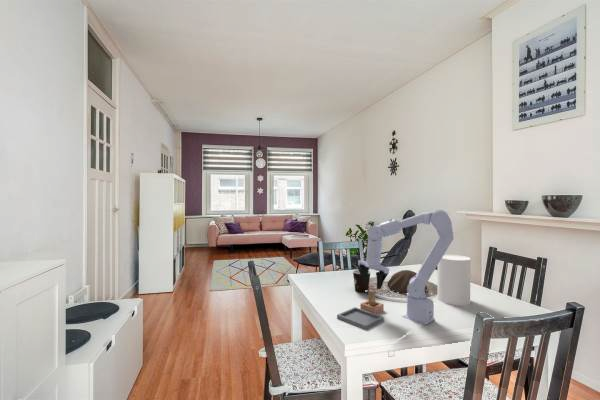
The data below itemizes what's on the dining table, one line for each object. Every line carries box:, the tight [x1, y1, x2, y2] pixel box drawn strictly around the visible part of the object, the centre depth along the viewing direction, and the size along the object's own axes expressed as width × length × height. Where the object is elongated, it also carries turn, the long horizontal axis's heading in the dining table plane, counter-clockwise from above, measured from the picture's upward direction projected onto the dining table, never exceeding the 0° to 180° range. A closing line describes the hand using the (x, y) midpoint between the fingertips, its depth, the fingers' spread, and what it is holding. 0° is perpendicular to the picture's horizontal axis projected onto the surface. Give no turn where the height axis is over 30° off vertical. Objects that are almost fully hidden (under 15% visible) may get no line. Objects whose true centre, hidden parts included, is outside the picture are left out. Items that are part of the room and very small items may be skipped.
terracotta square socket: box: [359, 299, 384, 315], centre depth 126 cm, size 7×7×3 cm
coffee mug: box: [352, 269, 371, 294], centre depth 152 cm, size 12×9×10 cm
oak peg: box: [368, 289, 376, 307], centre depth 126 cm, size 3×3×8 cm
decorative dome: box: [386, 269, 428, 294], centre depth 155 cm, size 19×20×10 cm
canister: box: [436, 253, 471, 307], centre depth 138 cm, size 14×14×20 cm
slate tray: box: [336, 306, 385, 330], centre depth 117 cm, size 14×12×2 cm
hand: (371, 285), depth 126 cm, fingers open, 7 cm apart
